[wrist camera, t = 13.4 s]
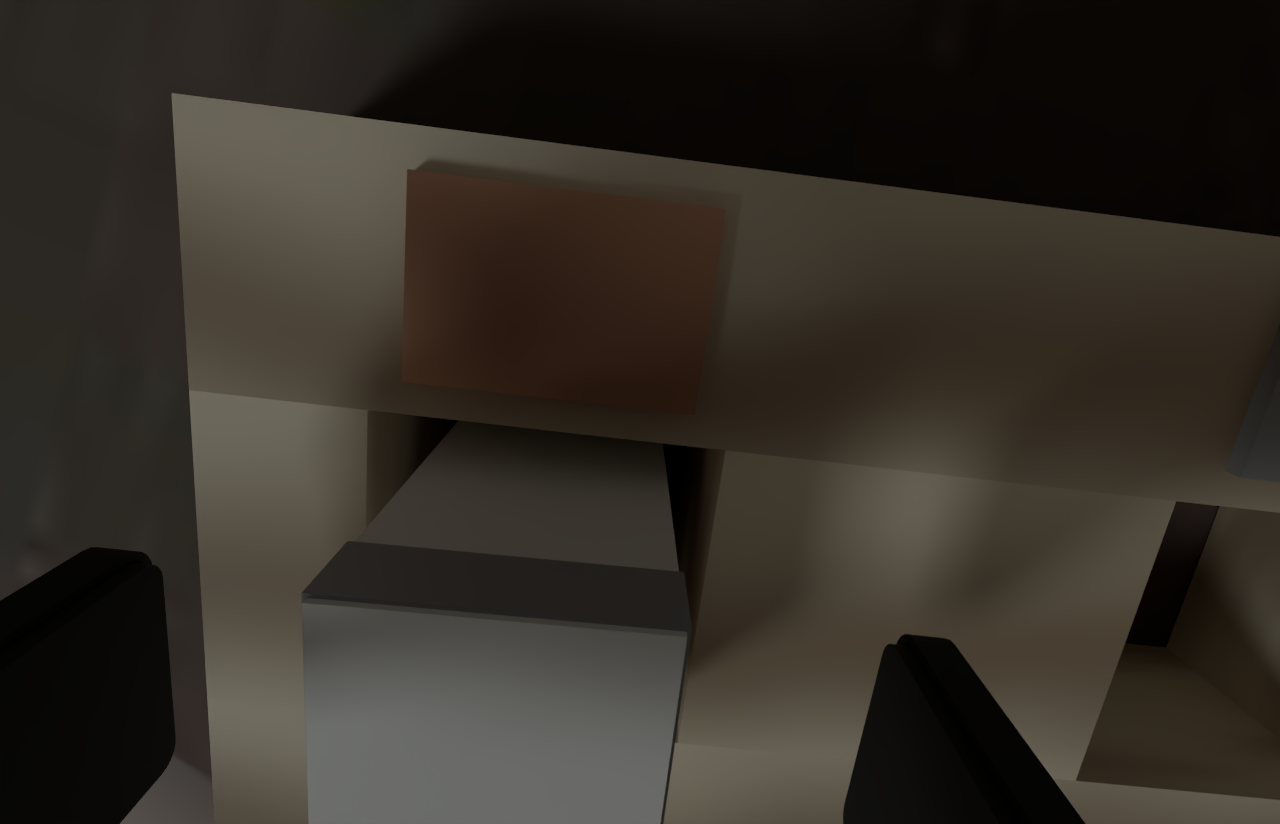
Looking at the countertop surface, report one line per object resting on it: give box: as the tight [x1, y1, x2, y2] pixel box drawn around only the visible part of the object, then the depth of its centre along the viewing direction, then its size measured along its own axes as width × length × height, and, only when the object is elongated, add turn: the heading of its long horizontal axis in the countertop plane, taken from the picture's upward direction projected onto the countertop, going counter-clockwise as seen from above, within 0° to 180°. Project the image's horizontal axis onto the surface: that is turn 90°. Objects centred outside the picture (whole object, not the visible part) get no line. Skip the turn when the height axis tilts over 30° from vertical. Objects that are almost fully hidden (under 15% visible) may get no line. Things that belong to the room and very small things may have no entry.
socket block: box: [172, 93, 1280, 824], centre depth 14 cm, size 14×24×5 cm, turn 83°
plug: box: [301, 421, 692, 824], centre depth 12 cm, size 4×4×9 cm
